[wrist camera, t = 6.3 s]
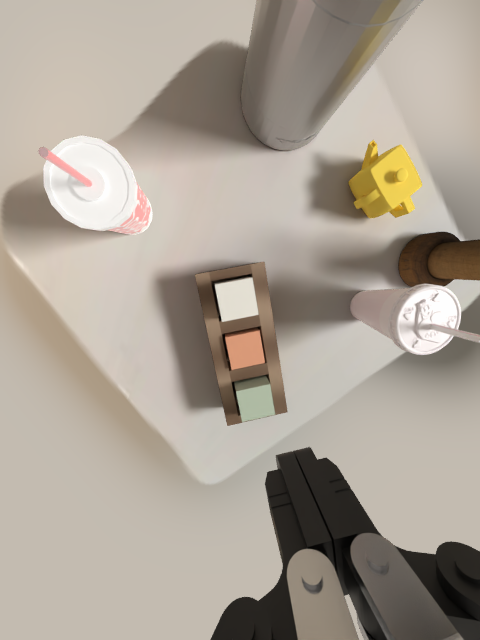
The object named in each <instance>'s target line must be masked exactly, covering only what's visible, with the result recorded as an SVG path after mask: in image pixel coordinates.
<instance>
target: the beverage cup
mask: <svg viewBox="0 0 480 640" xmlns="http://www.w3.org/2000/svg"><path fill="white" fill-rule="evenodd" d="M39 154H40V155H41V156H42V157H43V158H45V159H46V163H45V165H44V167H43V171H44V188H45V190H46V193H47V195H48V198H49V200H50V202H51V204H52V206H53V207H54V208H55V209H56V210H57V211H58V212H59V213H60V214H61V216H62V217H63V218H64V219H66V220H68V221H70V222H71V223H73V224H75V225H77V226H79V227H81V228H85V229H91V230H98V231H105V230H109V231H114V232H119V233H123V234H130V235H136V234H139V233H142V232H143V231H145V230H146V229H147V228H148V227H149V225H150V223H151V221H152V208H151V205H150V202H149V201H148V199H147V197H146V196H145V194H144V193H143V191H142V190H141V188H140V187H139V185H138V184H137V182H136V180H135V177H134V174H133V171H132V169H131V167H130V165H129V164H128V163H127V162H126V160H125V159H124V158H123V157H122V155H121V154H120V153H119V152H118V150H117V149H116V148H114V147H112V146H111V145H109V144H107V143H106V142H104V141H103V140H101V139H98V138H93V137H88V136H82V135H81V136H77V137H72V138H68V139H65V140H63V141H62V142H60V143H59V144H58V145H57V146H56V147H55V148H53V149H52V150H51V151H49V150H48V149H46V148H44V147H41V148H39Z"/></svg>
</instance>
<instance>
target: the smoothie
mask: <svg viewBox="0 0 480 640" xmlns="http://www.w3.org/2000/svg"><path fill="white" fill-rule="evenodd" d="M350 310H351V313H352V315H353V316H354V317H355V318H357V319H358V320H360V321H362V322H363V323H365V324H367V325H368V326H370V327H372V328H373V329H375V330H377V331H378V332H380V333H382V334H384V335H385V336H387V337H388V338H390V339H392V340H393V342H394V343H395V344H396V345H397V346H398V347H399V348H401V349H402V350H405V351H408V352H411V353H414V354H418V355H425V354H431V353H434V352H436V351H438V350H440V349H441V348H443V347H444V346H446V345H447V344H448V343H449V342H450V341H451V339H452V338H453V337H454V336H456V337H460V338H463V339H467V340H471V341H474V342H478V343H480V335H478V334H473V333H470V332H465V331H461V330H458V327H459V323H460V319H461V308H460V304H459V301H458V299H457V297H456V296H455V294H454V293H453V292H452V291H450V290H449V289H447V288H445V287H443V286H439V285H433V284H420V285H416V286H414V287H411V288H403V289H385V290H367V291H361V292H359V293H357V294H356V295H355V296H354V297H353V299H352V300H351V303H350Z"/></svg>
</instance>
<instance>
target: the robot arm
mask: <svg viewBox="0 0 480 640" xmlns="http://www.w3.org/2000/svg"><path fill="white" fill-rule="evenodd" d="M422 1H423V0H257V1H256V7H255V13H254V19H253V24H252V30H251V36H250V42H249V48H248V53H247V59H246V65H245V71H244V77H243V83H242V89H241V104H242V111H243V114H244V117H245V120H246V123H247V125H248V126H249V128H250V130H251V131H252V133H253V134H254V135H255V136H256V137H257V139H259V140H260V141H261V142H263V143H264V144H265V145H267V146H269V147H271V148H273V149H278V150H294V149H297V148H300V147H302V146H304V145H306V144H308V143H309V142H310V141H311V140H312V139H313V138H314V137H315V136H316V135H317V134H318V133H319V131H320V130H321V129H322V127H323V126H324V125H325V124H326V122H327V121H328V120H329V119H330V117H331V116H332V115H333V114H334V113H335V111H336V110H337V109H338V108H339V106H340V105H341V104H342V103H343V101H344V100H345V99H346V97H347V96H348V95H349V94H350V92H351V91H352V90H353V89H354V87H355V86H356V85H357V84H358V82H359V81H360V80H361V78H362V77H363V76H364V75H365V73H366V72H367V71H368V70H369V68H370V67H371V66H372V65H373V63H374V62H375V61H376V59H377V58H378V57H379V56H380V54H381V53H382V52H383V50H384V49H385V48H386V47H387V45H388V44H389V43H390V42H391V40H392V39H393V38H394V37H395V35H396V34H397V33H398V32H399V30H400V29H401V28H402V27H403V25H404V24H405V23H406V21H407V20H408V19H409V18H410V16H411V15H412V14H413V13H414V11H415V10H416V9H417V7H418V6H419V5H420V4H421V2H422ZM276 461H277V467H278V470H274V471H269V472H267V477H266V482H265V486H266V491H267V496H268V502H269V507H270V513H271V517H272V521H273V525H274V529H275V534H276V538H277V542H278V546H279V551H280V555H281V559H282V563H283V570H282V574H281V576H280V579H279V581H278V583H277V585H276V586H275V587H274V588H273V589H272V590H271V591H270V592H269V593H268V594H266V596H264V597H263V598H261V599H260V600H259V601H257V600H255V599H253V598H250V597H242V598H238V599H236V600H235V601H233V602H232V603H231V604H230V605H229V606H228V607H227V608H226V609H225V611H224V613H223V614H222V616H221V618H220V620H219V623H218V625H217V627H216V629H215V631H214V634H213V635H212V638H211V640H359V638H358V635H357V632H356V629H355V627H354V623H353V621H352V618H351V615H350V612H349V609H348V606H347V603H346V600H345V597H344V595H348V594H349V595H350V597H351V600H352V602H353V605H354V607H355V610H356V613H357V621H358V625H359V629H360V631H361V633H362V636H363V638H364V640H480V551H478V550H476V549H474V548H472V547H470V546H467V545H465V544H462V543H458V542H445V543H443V544H441V545H440V546H439V547H438V548H437V551H436V554H427V553H418V552H411V551H406V550H403V549H401V548H398V547H396V546H395V545H393V544H392V543H391V542H390V541H388V540H387V539H386V538H384V537H383V536H382V535H381V534H380V533H379V532H378V531H377V529H376V528H375V526H374V524H373V523H372V521H371V520H370V518H369V517H368V515H367V513H366V512H365V510H364V509H363V507H362V505H361V504H360V502H359V501H358V499H357V497H356V496H355V494H354V493H353V491H352V490H351V488H350V486H349V485H348V483H347V481H346V480H345V479H344V477H343V475H342V473H341V472H340V470H339V469H338V467H337V466H336V465H335V464H334V463H332V462H331V461H330V460H329V459H327V458H323V459H318V460H317V458H316V457H315V455H314V453H313V451H312V449H311V448H310V447H308V448H304V449H300V450H296V451H293V452H288V453H283V454H279V455H276Z"/></svg>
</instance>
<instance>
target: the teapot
mask: <svg viewBox="0 0 480 640" xmlns="http://www.w3.org/2000/svg"><path fill="white" fill-rule="evenodd" d="M361 169H362V170H361V171H359V172H358V173H357V174H356V175H355V176H354V177H353V178H352V179H351V180H350V181H349V182H348V184H349V186H350V188H351V191H352V193H353V194H354V196H355V198H356V201H355V202H354V205H355V206H356V208H357V209H359V208H362V210H363V211H364V212H365V214H366V215H367V216H368V217H369V218H375V217H378V216H381V215H383V214H385V213H387V212H390V213H391V214H392V215H393V216H394V217H395V218H396V217H399V216H402V215H405V214H408V213H410V212H411V211H412V210H414V209H415V207H414V205H413V202H412V200H411V198H410V196H411V195H412V194H413V193H414V192H416V191H417V190H418V189H419V188H420V187H421V186H422V182H421V180H420V177H419V175H418V173H417V171H416V169H415V167H414V165H413V163H412V161H411V159H410V157H409V156H408V154H407V152H406V151H405V149H404V148H403V146H402V145H399V146H396V147H394V148H392V149H390V150H388V151H386V152H385V153H383V154H381V155H380V156H378V151H377V144H376V143H375V141H374V140H373V141H371V142H370V143H369V144H368V148H367V151H366V154H365V158H364V161H363V165H362V168H361ZM399 204H401V205H402V207H401V206H400V205H399Z"/></svg>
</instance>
